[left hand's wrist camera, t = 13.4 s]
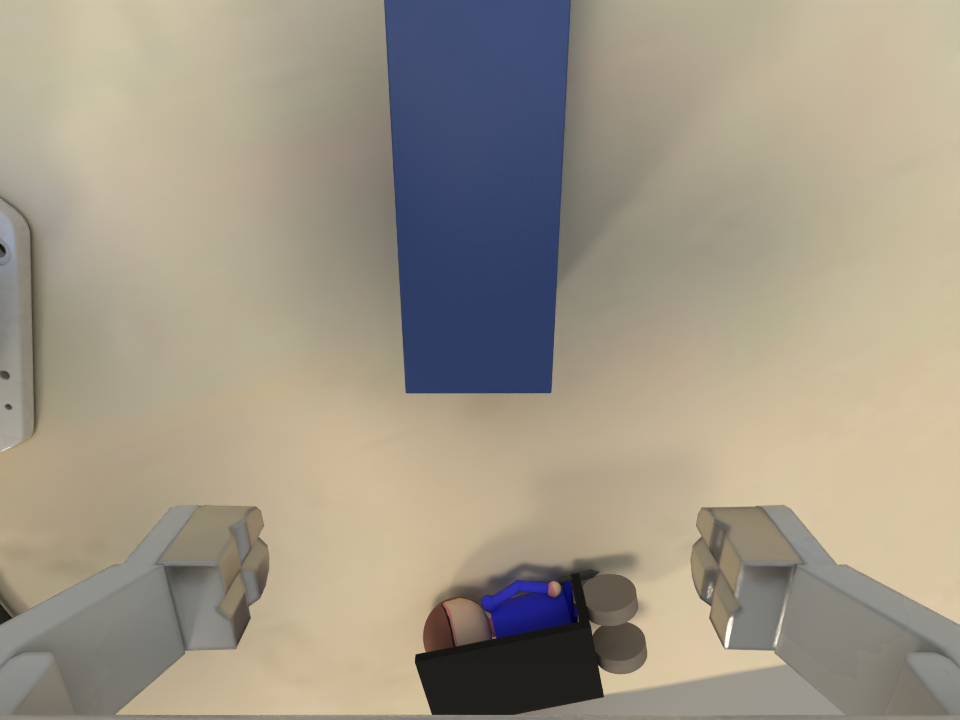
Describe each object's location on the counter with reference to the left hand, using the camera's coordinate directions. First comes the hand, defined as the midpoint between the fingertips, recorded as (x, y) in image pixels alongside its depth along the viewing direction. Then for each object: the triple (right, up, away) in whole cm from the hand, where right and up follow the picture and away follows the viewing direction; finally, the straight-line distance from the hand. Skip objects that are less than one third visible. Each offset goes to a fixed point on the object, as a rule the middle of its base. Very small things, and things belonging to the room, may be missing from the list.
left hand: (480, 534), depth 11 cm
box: (0, +16, +20) cm, 26 cm away
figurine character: (+3, -14, +32) cm, 35 cm away
